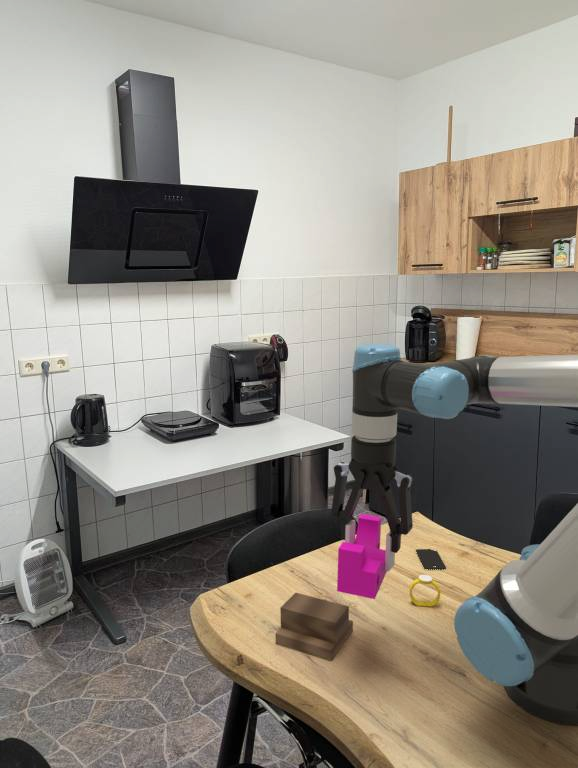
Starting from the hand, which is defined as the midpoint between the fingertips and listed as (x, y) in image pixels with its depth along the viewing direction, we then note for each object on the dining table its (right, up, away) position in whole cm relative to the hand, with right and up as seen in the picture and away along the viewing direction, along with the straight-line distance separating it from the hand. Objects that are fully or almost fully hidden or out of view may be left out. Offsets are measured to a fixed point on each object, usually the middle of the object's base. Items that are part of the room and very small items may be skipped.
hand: (369, 562), depth 103 cm
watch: (+13, -14, +15) cm, 24 cm away
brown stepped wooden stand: (-9, -15, +5) cm, 19 cm away
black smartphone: (+19, -11, +35) cm, 41 cm away
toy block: (-1, -2, -2) cm, 2 cm away
